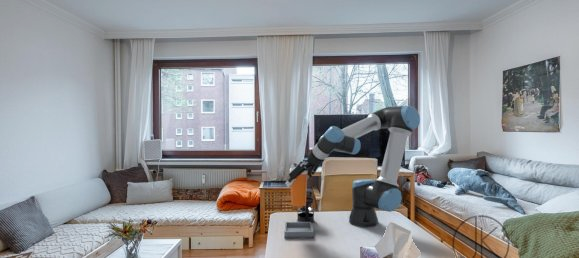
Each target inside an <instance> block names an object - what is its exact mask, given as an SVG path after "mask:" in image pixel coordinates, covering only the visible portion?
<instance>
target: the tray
mask: <svg viewBox="0 0 579 258" xmlns="http://www.w3.org/2000/svg"><path fill="white" fill-rule="evenodd" d="M284 239H314V227H313V223H312V222H297V221H285V222H284Z"/></svg>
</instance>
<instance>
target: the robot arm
mask: <svg viewBox="0 0 579 258" xmlns="http://www.w3.org/2000/svg"><path fill="white" fill-rule="evenodd" d="M420 123H421V117H420V114H419V111H418V109H417V108H416V107H414V106H411V105H403V106H402V105H401V106H399V105H398V106H387V107H383V108H381V109H379V110H375V111H374V112H372V113H370V114H368V115H367V117H366V118H363V119H361V120H358V121H357V122H355V123H352V124H349V125H347V126H346V127H344V128H342V129H341V128H340V127H338V126H335V125H331V126H330V127H329V128H328V129H327V130H326V131H325V133H324V134H322V136H320V138H319V139H318V142H317V143H316V144H315V145H314V146H313V148H312V149H311V150H310V151H309V152H308V153H307V159H306V160H305V161H304V162H303V161H300V162H299V163H298V164H299V165H297V167H296V168H295V169H294V170H293V171H292V172H291V173H290V172H289V174H288V176H289V178H288V179H287V180H286V181H285V183H284V184H285V186H286V187H287V189H288V188H291V184H292V183H293V182H294V181H295V180H296V179H295V178H296V177H298V176H299V175H300V174H301V173H303V172H304V171H307V170H308V173H307V179H308V178H309V177H310V178H312V177H313V176H314V175H315V174H316V172H317V171H318V169H319V167H320V166H321V164H323V162H324V161H325V160H326V159H328V158H329V156H330V154H331V153H332V152H339V153H344V154H345V153H347V154H349V155H357V154H358V153H359V152H360V151H361V148H362V147H361V141H360V139H358V138H360V137H363V136H364V135H366V134H368V133H370V132H372V131H378V130H382V129H387V130H388V131H389V137H388V142H387V145H386V150H385V153H384V157H383V161H382V165H381V167H380V172H379V177H378V178H376V179H372V178H370V179H367V178H365V179H364V178H363V179H355V180H354V181H353V182H352V187H351V190H352V193H351V195H352V207H351V211H350V214H349V217H348V219H349V221H348V222H349V224H351V225H353V226H356V227H358V228H359V227H361V228H373V227H376V226H378V224H379V219H378V215H377V211H376V209H378V210H381V211H383V212H394V211H395V210H397V209H398V208H399V206H400V205H401V203H402V200H403V196H402V192H401V190H399V188H400V185H399V184H398V178H399V175H400V170H401V165H402V161H403V158H404V153H405V150H406V146H407V140H408V137H409V136H411V135H412V133H413V130H415V129H417V128H418V127H419V126H420ZM305 167H306V168H305Z"/></svg>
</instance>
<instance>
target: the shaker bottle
mask: <svg viewBox="0 0 579 258" xmlns="http://www.w3.org/2000/svg"><path fill="white" fill-rule="evenodd" d="M298 165H299V163H291V165H290V168H289V174H290V173H291V172H292V171H293V170H294V169H295V168H296V167H297V166H298ZM305 168H306V167H305ZM307 173H308V170H307V171H304V172H303V173H301V174H300V175H299V176H298V177H296V178H295V179H296V180H295V181H294V182H293V183H292V184H291V186H290V197H291V198H290V199H291V200H290V201H291V203H290V204H291V205H292V206H294V207H298V208H301V207H302V206H305V205H306V201H307V200H306V197H307V193H306V191H307V189H308V188H307V187H308V185H307V184H308V181H307V179H308V178H307Z"/></svg>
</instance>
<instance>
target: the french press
mask: <svg viewBox="0 0 579 258" xmlns="http://www.w3.org/2000/svg"><path fill="white" fill-rule="evenodd" d="M308 181H310V179H308V178H307V182H308ZM306 194H310V195H311V196H313V195H314V189H312V188H307V191H306ZM310 204H312V207H310V206H309V205H310ZM314 206H315V200H314V198H313V197H310V196H308V197H307V196H306V205H305V206H301V207H297V206H296V207H297V210H296V211H297V220H296V222H312V224H313V223H314V222H315V217H314V216H315V215H314V214H315V207H314Z"/></svg>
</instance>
